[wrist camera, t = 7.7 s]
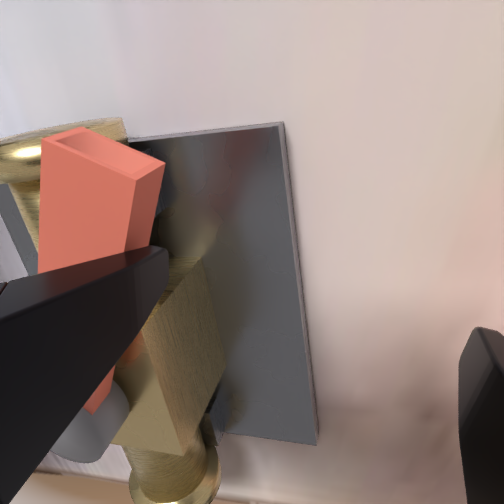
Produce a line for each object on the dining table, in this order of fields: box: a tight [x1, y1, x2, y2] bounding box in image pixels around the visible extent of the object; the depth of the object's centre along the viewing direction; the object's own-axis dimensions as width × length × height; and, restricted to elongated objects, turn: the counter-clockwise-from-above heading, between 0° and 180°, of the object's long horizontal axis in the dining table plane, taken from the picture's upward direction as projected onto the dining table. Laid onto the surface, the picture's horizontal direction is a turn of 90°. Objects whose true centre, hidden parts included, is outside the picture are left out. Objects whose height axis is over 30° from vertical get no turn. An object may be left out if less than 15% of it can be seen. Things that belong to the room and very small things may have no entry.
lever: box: [38, 126, 166, 463], centre depth 12 cm, size 12×3×2 cm, turn 161°
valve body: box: [0, 118, 319, 504], centre depth 17 cm, size 18×14×6 cm
